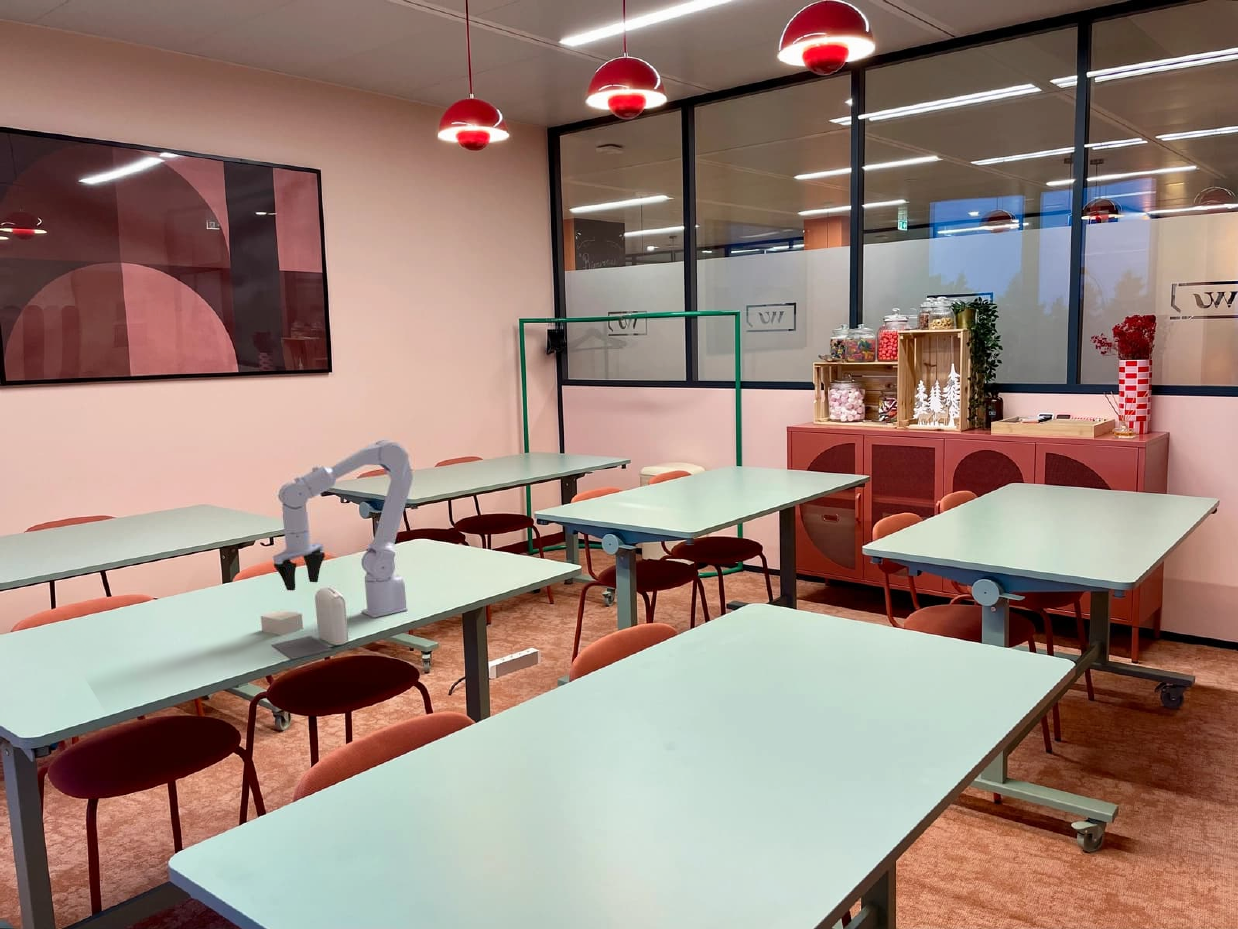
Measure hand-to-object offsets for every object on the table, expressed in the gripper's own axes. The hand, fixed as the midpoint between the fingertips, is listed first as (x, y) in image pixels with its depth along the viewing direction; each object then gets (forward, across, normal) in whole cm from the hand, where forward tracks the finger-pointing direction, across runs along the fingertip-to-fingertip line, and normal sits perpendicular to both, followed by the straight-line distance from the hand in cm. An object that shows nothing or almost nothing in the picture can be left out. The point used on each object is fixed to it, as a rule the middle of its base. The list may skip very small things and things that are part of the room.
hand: (302, 586), depth 225 cm
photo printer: (+10, +7, +15) cm, 20 cm away
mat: (+10, +14, +12) cm, 21 cm away
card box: (+10, +4, -4) cm, 12 cm away
